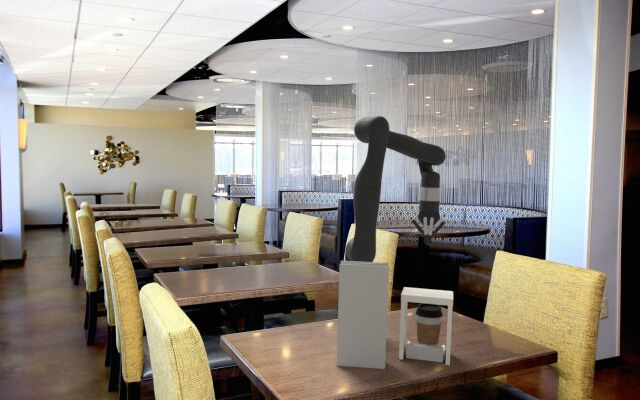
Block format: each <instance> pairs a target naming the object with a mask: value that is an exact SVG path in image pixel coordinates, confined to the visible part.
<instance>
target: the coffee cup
mask: <svg viewBox="0 0 640 400" xmlns="http://www.w3.org/2000/svg"><path fill="white" fill-rule="evenodd" d="M441 306H442V305H437V304H427V303H419V304H418V305H417V308H416V310H415V315H416V336H417V337H416V339H417V344H419V345H428V346H437V347H439V341H440V335H441V326H442V318H443V316H444V315H443V312H442V310H443V309H442V307H441Z"/></svg>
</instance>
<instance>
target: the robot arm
mask: <svg viewBox="0 0 640 400" xmlns="http://www.w3.org/2000/svg"><path fill="white" fill-rule="evenodd" d="M353 132H354V136H355V137H356V139H357V140H358V141H360V142H361V143H364V144H367V145H368V146H367V152H366V158H365V160H364V162H363V165H362V166H361V168H360V169H359V171H358V173H357V175H356V177H355V181H354V187H353V195H352V196H353V198H352V199H353V201H352V203H353V205H352V206H353V213H354V220H355V221H354V222H355V225H354V226H355V228H354V234H353V238H351V239H349V241H348V242H347V244H346V246H345V250H344V261H358V262H374V260H375V258H376V255H377V254H376V253H377V226H378V225H377V223H378V216H379V209H380V201H381V193H382V180H383V172H384V164H385V158H386V153H387V149H389V150H391V151H394V152H397V153H398V154H401V155H403V156H406V157H408V158H411V159H412V160H413V159H414V160H417V164H418V169H419V173H420V190H419V204H418V208H419V209H418V214H417V216H416V217H415V218H413V219H412V220H411V222H412V223H413V225H414V226H415V228H416V229H417V231H418V232H419V234H423V243H424V244H425V245H427V246H430V245H431V244H432V241H433V239H432V237H433V235H436V234H437V233H438V232H439V231H441V229H442V228H443V226H445V224H446V220H443V219H442V218H441V215H440V205H441V203H440V202H441V201H440V200H441V189H440V188H441V187H440V186H441V174H440V173H439V172H438V171H435V170H434V168H433V166H440V165H443V164H444V162H445V161H446V155H447V154H446V152H445V150H444V148H443V147H440V146H439V145H435V144H433V143H429V142H424V141H422V140H420V139H417V138H415V137H413V136H410V135H409V134H408V135H407V134H405V133H404V134H403V133H400V132H395V131H391V130H390V124H389V122H388V120H387V119H386V118H385V117H384V116H382V115H380V116H379V115H378V116H377V115H374V116H363V117H360V118H359V119H358V120H357V121H356V122H355V124H354V127H353ZM419 222H420V223H421V225H422V226H423V228H422V226H420V224H419ZM437 223H438V226H437V227H436V228H435V229H433V228H434V227H435V226H436V225H437ZM428 226H429V228H428Z"/></svg>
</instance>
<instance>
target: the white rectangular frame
mask: <svg viewBox="0 0 640 400" xmlns="http://www.w3.org/2000/svg"><path fill="white" fill-rule="evenodd" d="M408 303H416V304H417V303H419V304H421V303H427V304H437V305H439V306H447V317H446V318H447V320H446V321H447V323H446V342H445V344H442V345H441V346H438V347H437V346H428V345H419V344H418V343H412V342H411V341H410V340H407V329H408V328H407V324H408ZM453 307H454V291H452V290H443V289H429V288H419V287H406V286H403V289H402V291H401V293H400V320H399V321H400V324H399V325H400V326H399V347H398V348H399V349H398V350H399V351H398V360H400V361H401V360H404V357H405V358H406V359H409V360H410V359H412V360H420V361H427V362H438V363H443V362H444V361H445V366H450V364H451V347H452V346H451V345H452V323H453V322H452V321H453Z"/></svg>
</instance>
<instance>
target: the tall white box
mask: <svg viewBox="0 0 640 400" xmlns="http://www.w3.org/2000/svg"><path fill="white" fill-rule="evenodd" d="M338 271H339V274H338V275H339V277H338V306H337V307H338V308H337V330H336V331H337V332H336V333H337V339H336V367H350V368H367V369H379V370H380V369H382V370H386V356H387V355H386V353H387V351H386V350H387V332H388V331H387V329H388V327H387V326H388V309H389V308H388V307H389V305H388V304H389V303H388V302H389V301H388V300H389V282H390V281H389V279H390V277H389V276H390V265H389V262H377V261H376V262H375V261H373V262H358V261H345V260H340V263H339V269H338Z"/></svg>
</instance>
